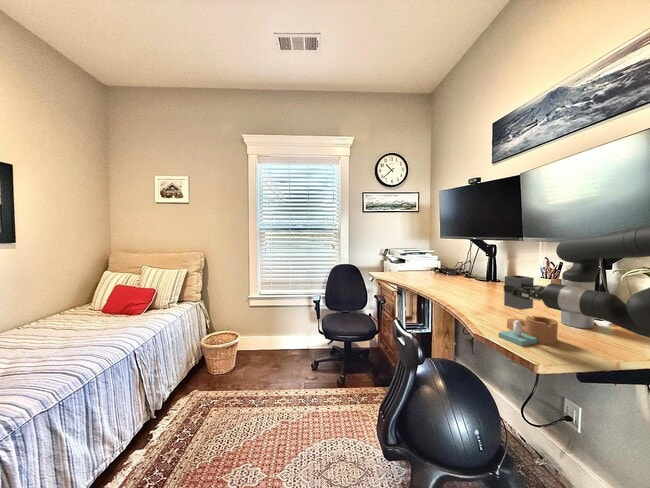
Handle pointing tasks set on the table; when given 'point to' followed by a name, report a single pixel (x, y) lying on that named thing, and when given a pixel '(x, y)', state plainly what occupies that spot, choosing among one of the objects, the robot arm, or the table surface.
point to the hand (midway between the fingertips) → (511, 287)
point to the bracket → (538, 328)
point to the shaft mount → (517, 335)
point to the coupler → (516, 301)
